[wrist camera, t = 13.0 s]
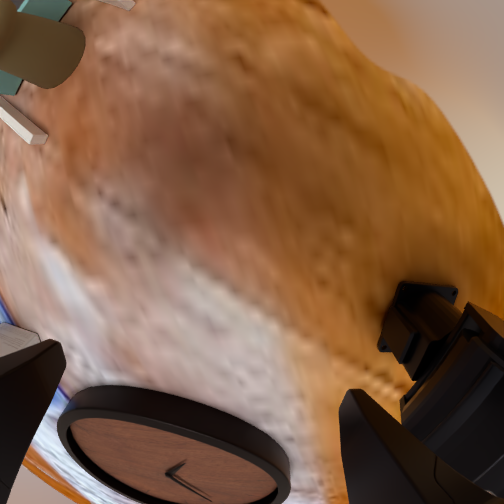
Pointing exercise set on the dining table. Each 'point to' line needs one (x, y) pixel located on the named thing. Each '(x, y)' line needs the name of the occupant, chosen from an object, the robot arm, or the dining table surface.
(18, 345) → the supplement box
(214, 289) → the dining table surface
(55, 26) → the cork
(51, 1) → the pusher paddle
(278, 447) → the wall clock
